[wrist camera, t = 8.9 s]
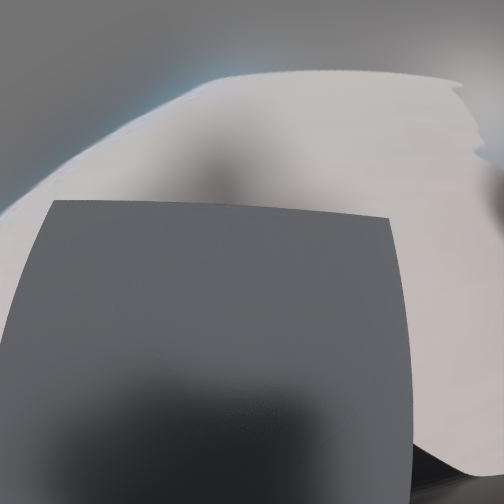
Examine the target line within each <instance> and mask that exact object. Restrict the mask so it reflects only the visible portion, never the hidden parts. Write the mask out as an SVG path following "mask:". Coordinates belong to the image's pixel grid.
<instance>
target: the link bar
mask: <svg viewBox="0 0 504 504" xmlns="http://www.w3.org/2000/svg"><path fill="white" fill-rule="evenodd" d="M412 460H413V389H412V370H411V357H410V345H409V335H408V326H407V318H406V310H405V303H404V296H403V289H402V283H401V277H400V271H399V266H398V260H397V255H396V250H395V245H394V240H393V235H392V231H391V226H390V222H389V218H381V217H371V216H362V215H352V214H342V213H332V212H320V211H309V210H297V209H284V208H271V207H256V206H240V205H223V204H204V203H181V202H153V201H107V200H54V201H53V203H52V205H51V207H50V209H49V211H48V213H47V215H46V218H45V220H44V222H43V224H42V226H41V228H40V231H39V233H38V235H37V237H36V240H35V242H34V244H33V247H32V249H31V252H30V254H29V257H28V259H27V262H26V264H25V267H24V269H23V272H22V275H21V278H20V280H19V283H18V286H17V289H16V292H15V295H14V298H13V301H12V304H11V307H10V311H9V314H8V317H7V321H6V325H5V328H4V332H3V336H2V340H1V344H0V504H409V500H410V490H411V477H412Z"/></svg>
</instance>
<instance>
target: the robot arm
mask: <svg viewBox="0 0 504 504" xmlns="http://www.w3.org/2000/svg"><path fill="white" fill-rule="evenodd" d="M409 504H504V474H503V475H495V476H483V477H482V476H473V475H469V474H466V473H463V472H461V471H459V470H457V469H455V468H453V467H452V466H450V465H448V464H446V463H445V462H443V461H441V460H439V459H438V458H436V457H434V456H433V455H431V454H429V453H427V452H426V451H424V450H423V449H421V448H419V447H418V446H416V445H415V444H413V460H412V477H411V490H410V500H409Z"/></svg>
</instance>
